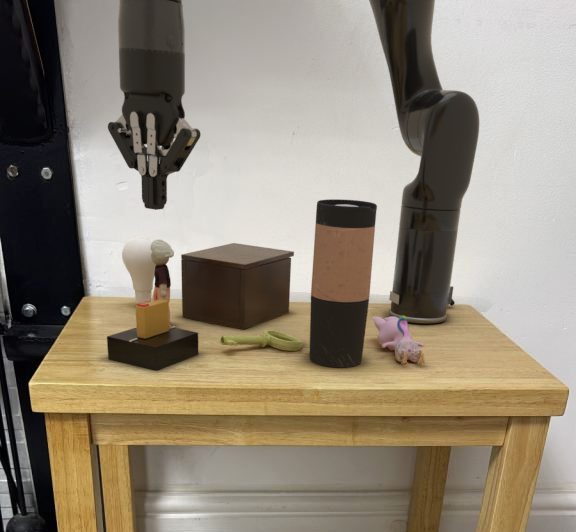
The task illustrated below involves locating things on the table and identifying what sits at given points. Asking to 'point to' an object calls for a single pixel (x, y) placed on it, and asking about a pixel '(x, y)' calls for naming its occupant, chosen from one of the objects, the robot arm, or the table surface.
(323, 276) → the travel mug
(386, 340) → the pink toy animal
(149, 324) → the lock knob
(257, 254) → the lockbox lid
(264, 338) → the key
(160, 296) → the grandmother figurine
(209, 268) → the box
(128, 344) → the plate
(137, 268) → the lightbulb
